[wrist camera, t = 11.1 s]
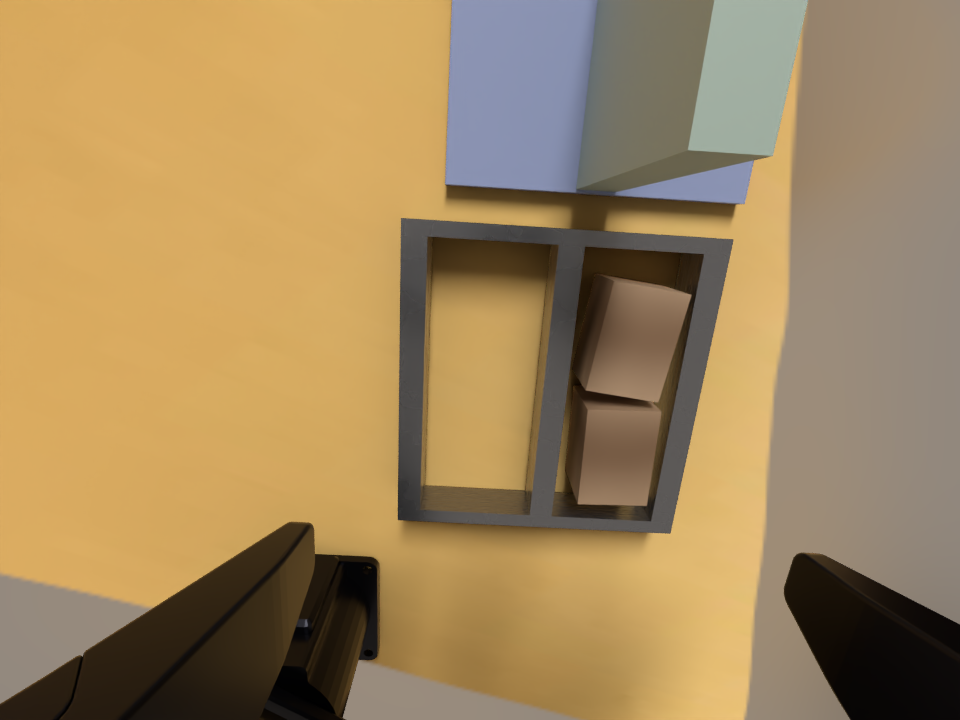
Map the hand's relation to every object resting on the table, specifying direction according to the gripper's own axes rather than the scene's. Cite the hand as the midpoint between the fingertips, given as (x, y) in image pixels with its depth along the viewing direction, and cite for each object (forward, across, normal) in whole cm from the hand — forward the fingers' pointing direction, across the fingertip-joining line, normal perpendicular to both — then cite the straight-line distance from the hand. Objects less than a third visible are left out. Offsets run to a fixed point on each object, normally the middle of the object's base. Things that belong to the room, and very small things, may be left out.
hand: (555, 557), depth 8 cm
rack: (+13, -2, +1) cm, 13 cm away
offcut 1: (+13, -5, -2) cm, 14 cm away
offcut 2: (+13, -5, +3) cm, 14 cm away
